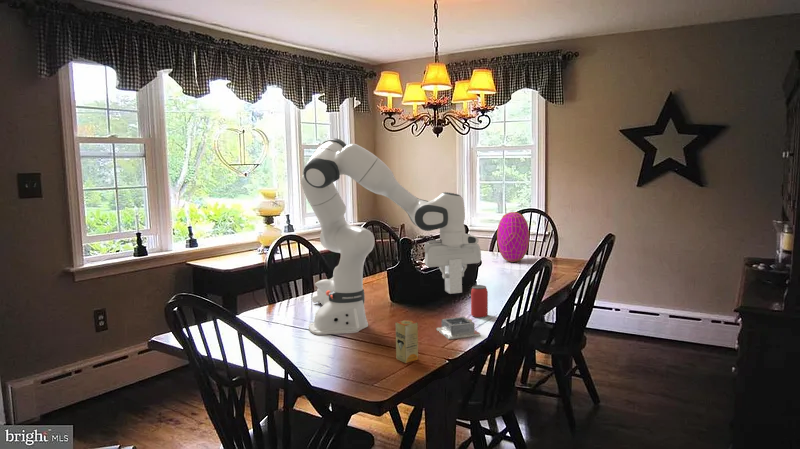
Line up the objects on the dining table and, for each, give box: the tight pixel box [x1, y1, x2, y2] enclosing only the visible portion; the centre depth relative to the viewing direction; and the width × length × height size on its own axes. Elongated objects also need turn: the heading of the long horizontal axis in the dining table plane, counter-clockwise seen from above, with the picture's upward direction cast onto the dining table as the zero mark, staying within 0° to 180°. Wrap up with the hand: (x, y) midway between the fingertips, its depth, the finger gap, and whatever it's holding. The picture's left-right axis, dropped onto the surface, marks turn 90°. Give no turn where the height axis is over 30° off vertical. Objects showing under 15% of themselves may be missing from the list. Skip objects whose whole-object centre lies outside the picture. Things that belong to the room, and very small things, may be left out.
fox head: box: [311, 277, 334, 306], centre depth 248 cm, size 13×17×20 cm
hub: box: [436, 316, 481, 340], centre depth 205 cm, size 12×12×4 cm
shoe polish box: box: [395, 319, 419, 364], centre depth 179 cm, size 5×5×12 cm
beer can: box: [470, 284, 489, 319], centre depth 226 cm, size 7×7×12 cm
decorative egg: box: [496, 211, 530, 263], centre depth 340 cm, size 19×19×30 cm
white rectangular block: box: [444, 259, 463, 295], centre depth 199 cm, size 5×5×12 cm
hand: (453, 277), depth 199 cm, fingers closed on white rectangular block, 5 cm apart
